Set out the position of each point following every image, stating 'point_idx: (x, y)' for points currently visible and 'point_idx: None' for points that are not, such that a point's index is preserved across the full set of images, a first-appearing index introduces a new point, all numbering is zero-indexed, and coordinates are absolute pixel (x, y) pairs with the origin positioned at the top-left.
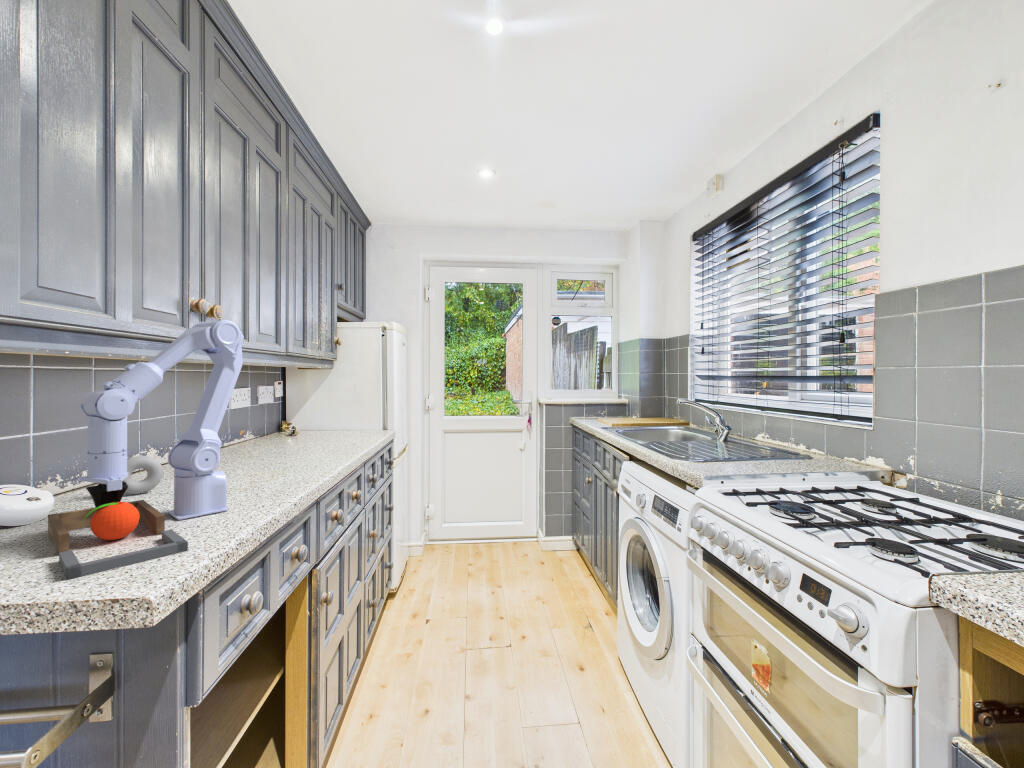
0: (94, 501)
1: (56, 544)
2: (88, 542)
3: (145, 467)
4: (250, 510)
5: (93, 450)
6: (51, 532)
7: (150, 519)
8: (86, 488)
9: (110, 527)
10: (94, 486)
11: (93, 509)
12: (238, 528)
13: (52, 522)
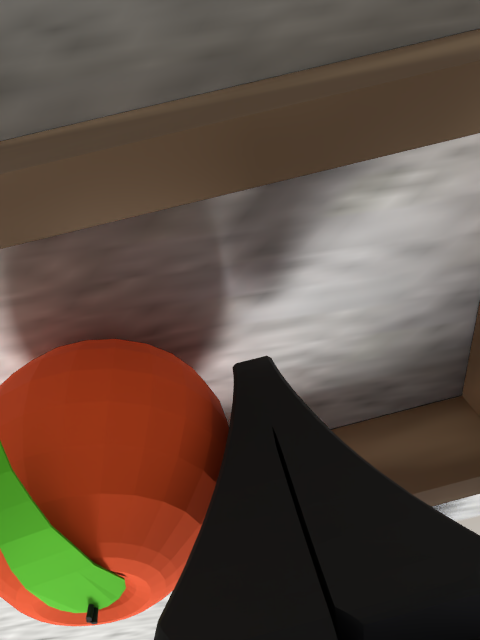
0: (269, 490)
1: (9, 146)
2: (127, 279)
3: None
4: None
5: None
6: (372, 64)
7: None
8: (428, 598)
9: None
10: (467, 628)
11: (27, 500)
12: (42, 636)
13: (353, 92)
